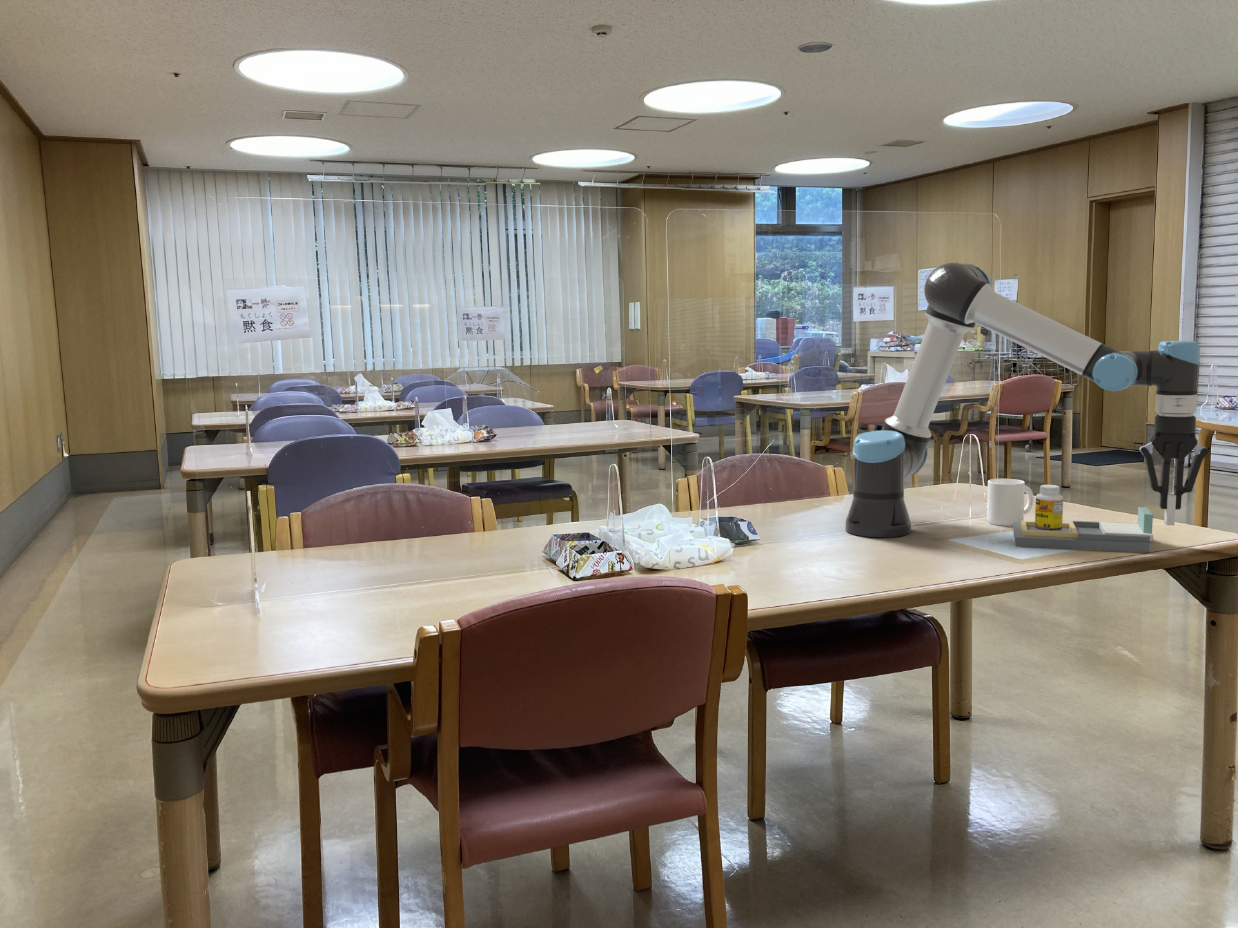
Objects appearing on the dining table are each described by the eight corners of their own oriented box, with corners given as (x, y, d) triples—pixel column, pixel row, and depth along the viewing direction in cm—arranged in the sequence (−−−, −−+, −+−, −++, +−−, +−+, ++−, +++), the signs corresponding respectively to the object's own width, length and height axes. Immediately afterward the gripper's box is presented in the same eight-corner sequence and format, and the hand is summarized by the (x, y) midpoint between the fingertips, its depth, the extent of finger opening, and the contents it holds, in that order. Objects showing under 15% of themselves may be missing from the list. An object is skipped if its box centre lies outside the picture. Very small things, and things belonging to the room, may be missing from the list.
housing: (1015, 546, 207) (1015, 531, 206) (1012, 530, 222) (1013, 517, 221) (1150, 552, 198) (1150, 537, 197) (1138, 536, 213) (1138, 522, 212)
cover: (1105, 538, 202) (1106, 514, 202) (1099, 527, 213) (1100, 504, 212) (1153, 540, 199) (1154, 516, 199) (1144, 529, 210) (1145, 506, 209)
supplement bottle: (1029, 529, 213) (1030, 485, 212) (1049, 527, 215) (1051, 483, 213) (1046, 534, 208) (1048, 489, 207) (1067, 532, 210) (1069, 487, 208)
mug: (1021, 517, 236) (1022, 476, 235) (1044, 523, 228) (1045, 481, 227) (979, 521, 233) (980, 479, 232) (1001, 527, 226) (1002, 485, 224)
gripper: (1143, 416, 198) (1137, 526, 202) (1215, 416, 194) (1208, 529, 197) (1137, 412, 205) (1132, 519, 209) (1207, 413, 201) (1200, 521, 204)
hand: (1169, 523), depth 203 cm, fingers closed
